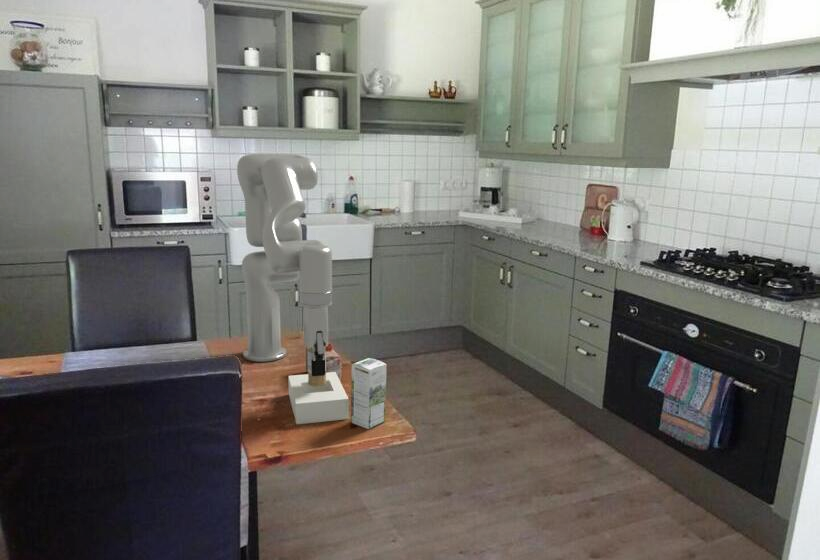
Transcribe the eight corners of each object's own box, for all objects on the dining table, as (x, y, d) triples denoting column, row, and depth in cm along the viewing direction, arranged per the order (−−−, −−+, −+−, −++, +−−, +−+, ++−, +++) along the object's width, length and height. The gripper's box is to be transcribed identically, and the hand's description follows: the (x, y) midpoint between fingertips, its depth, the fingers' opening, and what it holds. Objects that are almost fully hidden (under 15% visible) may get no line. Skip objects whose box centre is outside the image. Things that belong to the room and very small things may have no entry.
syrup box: (367, 415, 145) (367, 356, 142) (386, 422, 141) (386, 362, 138) (350, 422, 141) (350, 362, 138) (369, 430, 137) (369, 369, 134)
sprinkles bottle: (329, 385, 148) (329, 331, 145) (312, 388, 145) (311, 334, 143) (321, 379, 151) (320, 326, 149) (304, 382, 149) (303, 329, 146)
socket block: (288, 394, 156) (288, 375, 155) (335, 390, 160) (335, 371, 159) (296, 424, 139) (296, 403, 138) (348, 418, 143) (348, 398, 142)
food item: (345, 384, 164) (345, 349, 162) (317, 389, 160) (317, 353, 158) (327, 368, 176) (327, 335, 174) (301, 372, 172) (300, 338, 170)
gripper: (295, 290, 151) (297, 361, 155) (304, 307, 135) (305, 385, 139) (326, 289, 153) (327, 359, 157) (338, 305, 137) (338, 383, 141)
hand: (317, 370), depth 148 cm, fingers closed on sprinkles bottle, 4 cm apart
